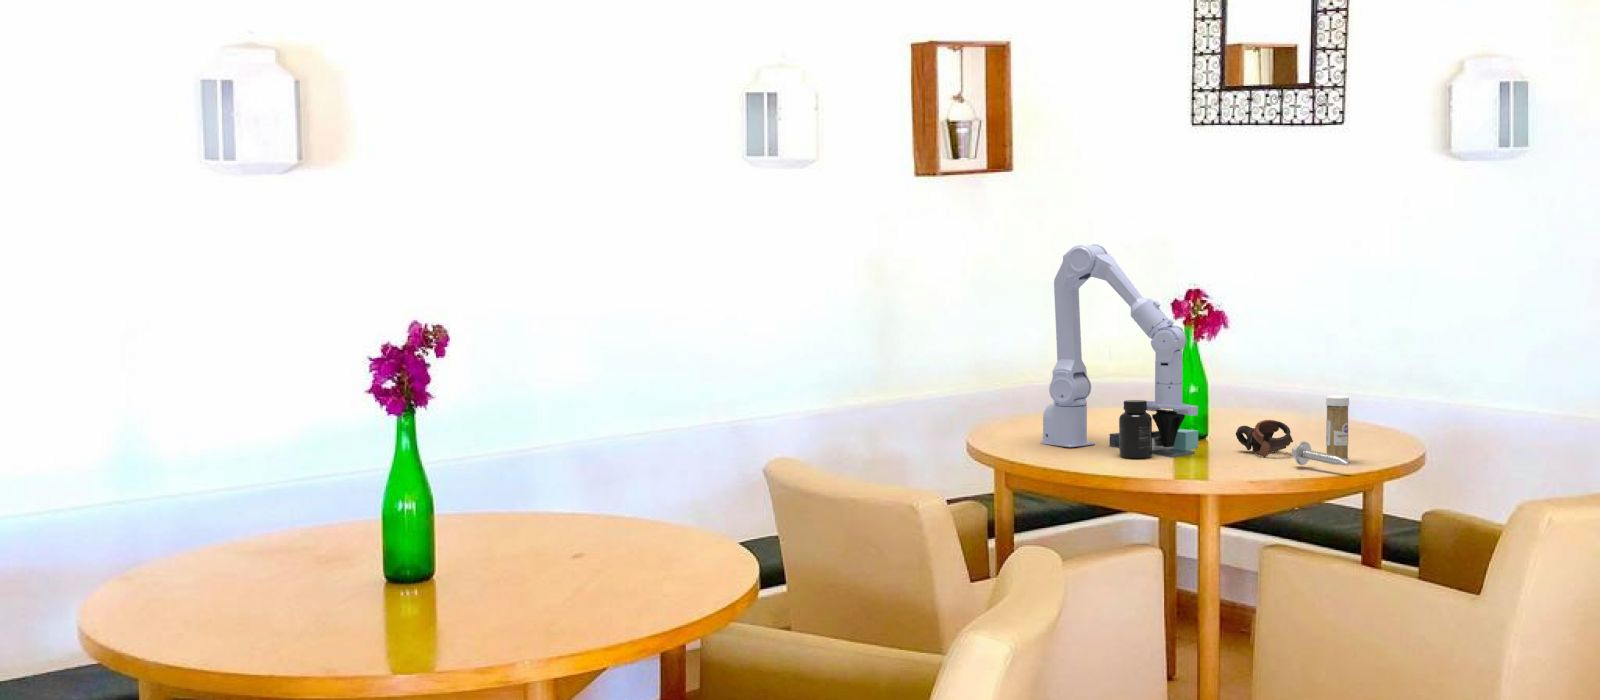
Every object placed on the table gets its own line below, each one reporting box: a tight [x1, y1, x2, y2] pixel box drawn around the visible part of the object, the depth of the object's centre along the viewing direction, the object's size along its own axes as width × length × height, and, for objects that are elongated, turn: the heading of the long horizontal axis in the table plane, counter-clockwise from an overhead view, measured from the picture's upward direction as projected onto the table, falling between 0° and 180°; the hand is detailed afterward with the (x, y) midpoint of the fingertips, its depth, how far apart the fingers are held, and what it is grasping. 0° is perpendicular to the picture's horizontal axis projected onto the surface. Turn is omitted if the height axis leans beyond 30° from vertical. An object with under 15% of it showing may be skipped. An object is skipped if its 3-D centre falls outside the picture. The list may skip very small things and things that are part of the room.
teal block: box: [1172, 428, 1199, 451], centre depth 400 cm, size 4×5×4 cm
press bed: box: [1109, 432, 1196, 459], centre depth 398 cm, size 18×7×4 cm, turn 37°
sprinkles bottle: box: [1325, 394, 1350, 460], centre depth 381 cm, size 5×5×13 cm
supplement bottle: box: [1118, 399, 1153, 460], centre depth 390 cm, size 7×7×12 cm
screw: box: [1291, 441, 1350, 466], centre depth 372 cm, size 13×5×5 cm, turn 37°
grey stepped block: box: [1152, 430, 1174, 450], centre depth 397 cm, size 5×6×4 cm
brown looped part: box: [1235, 419, 1294, 458], centre depth 392 cm, size 12×9×8 cm
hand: (1168, 446), depth 394 cm, fingers closed
